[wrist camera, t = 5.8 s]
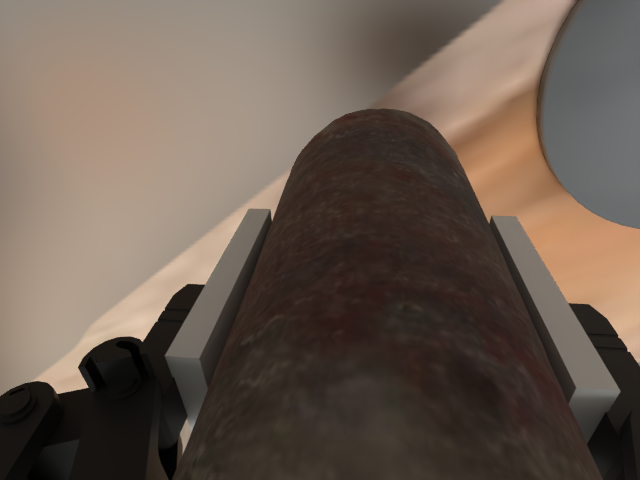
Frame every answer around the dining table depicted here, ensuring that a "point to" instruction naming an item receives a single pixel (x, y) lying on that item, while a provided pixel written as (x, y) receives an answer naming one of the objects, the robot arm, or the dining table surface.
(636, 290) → the dining table surface
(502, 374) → the dark brown rough cylinder
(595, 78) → the plate
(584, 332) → the robot arm
